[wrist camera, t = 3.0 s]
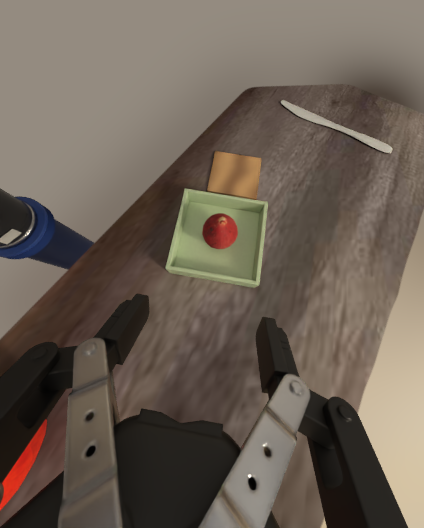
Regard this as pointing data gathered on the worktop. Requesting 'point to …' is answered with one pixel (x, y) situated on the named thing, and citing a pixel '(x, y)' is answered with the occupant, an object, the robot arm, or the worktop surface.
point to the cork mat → (234, 175)
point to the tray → (218, 260)
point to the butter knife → (337, 127)
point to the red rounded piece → (220, 231)
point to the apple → (22, 465)
